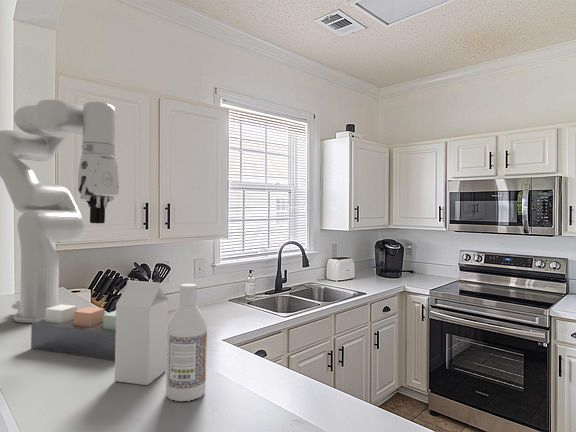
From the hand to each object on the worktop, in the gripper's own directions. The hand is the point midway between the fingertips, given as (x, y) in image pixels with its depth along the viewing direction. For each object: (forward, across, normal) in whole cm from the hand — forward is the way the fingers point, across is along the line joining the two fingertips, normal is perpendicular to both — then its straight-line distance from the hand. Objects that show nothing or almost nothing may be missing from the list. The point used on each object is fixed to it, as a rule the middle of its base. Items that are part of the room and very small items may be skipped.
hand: (97, 223), depth 103 cm
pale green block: (+26, -8, -13) cm, 30 cm away
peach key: (+26, -8, -5) cm, 28 cm away
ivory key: (+26, -8, +3) cm, 28 cm away
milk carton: (+29, -18, -26) cm, 43 cm away
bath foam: (+29, -22, -38) cm, 53 cm away
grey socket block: (+29, -8, -5) cm, 31 cm away
